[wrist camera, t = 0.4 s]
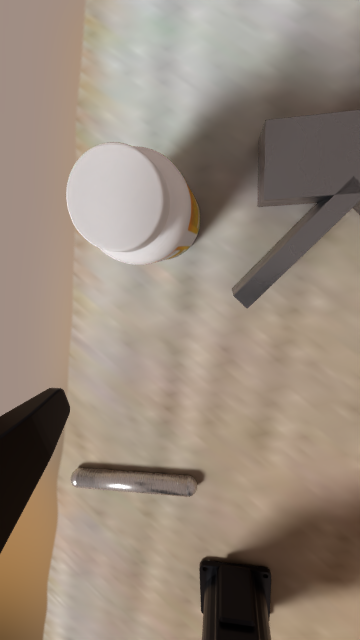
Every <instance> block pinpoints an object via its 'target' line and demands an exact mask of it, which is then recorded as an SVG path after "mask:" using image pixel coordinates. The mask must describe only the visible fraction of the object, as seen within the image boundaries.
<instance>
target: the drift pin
mask: <svg viewBox="0 0 360 640" xmlns="http://www.w3.org/2000/svg"><path fill="white" fill-rule="evenodd" d="M71 483H72V485H73V486H74V487H77V488H88V489H100V490H112V491H124V492H136V493H149V494H161V495H173V496H185V497H190V496H192V495H194V494H195V492H196V490H197V482H196V480H195V479H194V478H193V477H192V476H188V475H175V474H161V473H147V472H133V471H119V470H105V469H91V468H78V469H76V470H75V471H74V472H73V473H72V476H71Z"/></svg>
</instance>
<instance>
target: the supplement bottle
mask: <svg viewBox="0 0 360 640" xmlns="http://www.w3.org/2000/svg"><path fill="white" fill-rule="evenodd" d="M66 200H67V207H68V211H69V214H70V217H71V220H72V222H73V224H74V225H75V227H76V229H77V230H78V231H79V233H80V234H81V235H82V236H83V237H84V238H85V239H86V240H87V241H88V242H90V243H91V244H93V245H94V246H96V247H98V248H100V249H101V250H102V251H103V252H104V253H105V254H107V255H108V256H110V257H111V258H113V259H115V260H117V261H120V262H123V263H128V264H135V265H144V264H151V263H154V262H159V261H163V260H167V259H171V258H174V257H177V256H179V255H181V254H182V253H184V252H185V251H186V250H187V249H188V248H189V247H190V246H191V245H192V244H193V242H194V241H195V239H196V237H197V234H198V231H199V227H200V211H199V206H198V203H197V201H196V199H195V197H194V195H193V193H192V192H191V190H190V188H189V186H188V184H187V183H186V181H185V179H184V177H183V176H182V174H181V173H180V171H179V170H178V169H177V167H176V166H175V165H174V164H173V163H172V162H171V161H170V160H169V159H168V158H166V157H165V156H164V155H162V154H160V153H159V152H157V151H154V150H152V149H148V148H144V147H135V146H130V145H128V144H124V143H119V142H109V143H103V144H100V145H97V146H95V147H93V148H91V149H89V150H88V151H86V152H85V153H84V154H83V155H82V156H81V157H80V158H79V159H78V160H77V162H76V163H75V165H74V167H73V169H72V170H71V173H70V175H69V179H68V184H67V190H66Z"/></svg>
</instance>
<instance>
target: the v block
mask: <svg viewBox="0 0 360 640" xmlns="http://www.w3.org/2000/svg"><path fill="white" fill-rule="evenodd" d="M309 203H317V204H316V205H315V206H314V207H313V208H312V209H311V210H310V211H309V212H308V213H307V214H306V215H305V216H304V217H303V218H302V219H301V220H300V221H299V222H298V223H297V224H296V225H295V226H294V227H293V228H292V229H291V230H290V231H289V232H288V233H287V234H286V235H285V236H284V237H283V238H282V239H281V240H280V241H279V242H278V243H277V244H276V245H275V246H274V247H273V248H272V249H271V250H270V251H269V252H268V253H267V254H266V255H265V256H264V257H263V258H262V259H261V260H260V261H259V262H258V263H257V264H256V265H255V266H254V267H253V268H252V269H251V270H250V271H249V272H248V273H247V274H246V275H245V276H244V277H243V278H242V279H241V280H240V281H239V282H238V283H237V284H236V285H235V286H234V287H233V288H232V292H233V296H234V297H235V298H236V299H237V300H238V301H240V302H241V303H242V304H243V305H244V306H245V307H246V308H248V307H249V306H251V305H252V304H253V303H254V302H255V301H256V300H257V299H258V298H259V297H260V296H261V295H262V294H263V293H264V292H265V291H266V290H267V289H268V288H269V287H270V286H271V285H272V284H273V283H274V282H275V281H277V280H278V279H279V278H280V277H281V276H282V275H283V274H284V273H285V272H286V271H287V270H288V269H289V268H290V267H291V266H292V265H293V264H294V263H295V262H296V261H297V260H298V259H299V258H300V257H302V256H303V255H304V254H305V253H306V252H307V251H308V250H309V249H310V248H311V247H312V246H313V245H314V244H315V243H316V242H317V241H318V240H319V239H320V238H321V237H322V236H323V235H324V234H325V233H326V232H328V231H329V230H330V229H331V228H332V227H333V226H334V225H335V224H336V223H337V222H338V221H339V220H340V219H341V218H342V217H343V216H344V215H345V214H346V213H347V212H348V211H349V210H350V209H351V208H354V209H355V210H356V211H357V213H358V214H359V215H360V110H353V111H344V112H335V113H326V114H316V115H307V116H298V117H289V118H280V119H270V120H266V121H265V123H264V126H263V129H262V132H261V135H260V138H259V157H258V207H263V206H278V205H293V204H309Z"/></svg>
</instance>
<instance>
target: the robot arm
mask: <svg viewBox="0 0 360 640" xmlns="http://www.w3.org/2000/svg"><path fill="white" fill-rule="evenodd" d="M69 413H70V406H69V403H68V400H67V397H66V395H65V392H64V390H63V389H61V388H49V389H47V390H46V391H44V392H42V393H40V394H38V395H37V396H35V397H33V398H31V399H30V400H28V401H26V402H24V403H23V404H21V405H19V406H17V407H16V408H14V409H12V410H11V411H9V412H7V413H5V414H4V415H2V416H0V553H1V551H2V549H3V547H4V546H5V544H6V542H7V540H8V538H9V536H10V534H11V532H12V531H13V529H14V527H15V525H16V523H17V521H18V519H19V517H20V515H21V514H22V512H23V510H24V508H25V506H26V504H27V502H28V500H29V498H30V497H31V495H32V493H33V491H34V489H35V487H36V485H37V483H38V481H39V479H40V478H41V476H42V474H43V472H44V470H45V468H46V466H47V464H48V462H49V460H50V458H51V456H52V454H53V452H54V450H55V447H56V445H57V442H58V440H59V437H60V435H61V433H62V430H63V428H64V425H65V423H66V421H67V418H68V416H69ZM200 591H201V612H202V613H203V632H202V640H271V635H270V627H269V617H270V593H271V572H270V570H269V569H268V568H265V567H257V566H249V565H240V564H231V563H222V562H214V561H201V562H200Z"/></svg>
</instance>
